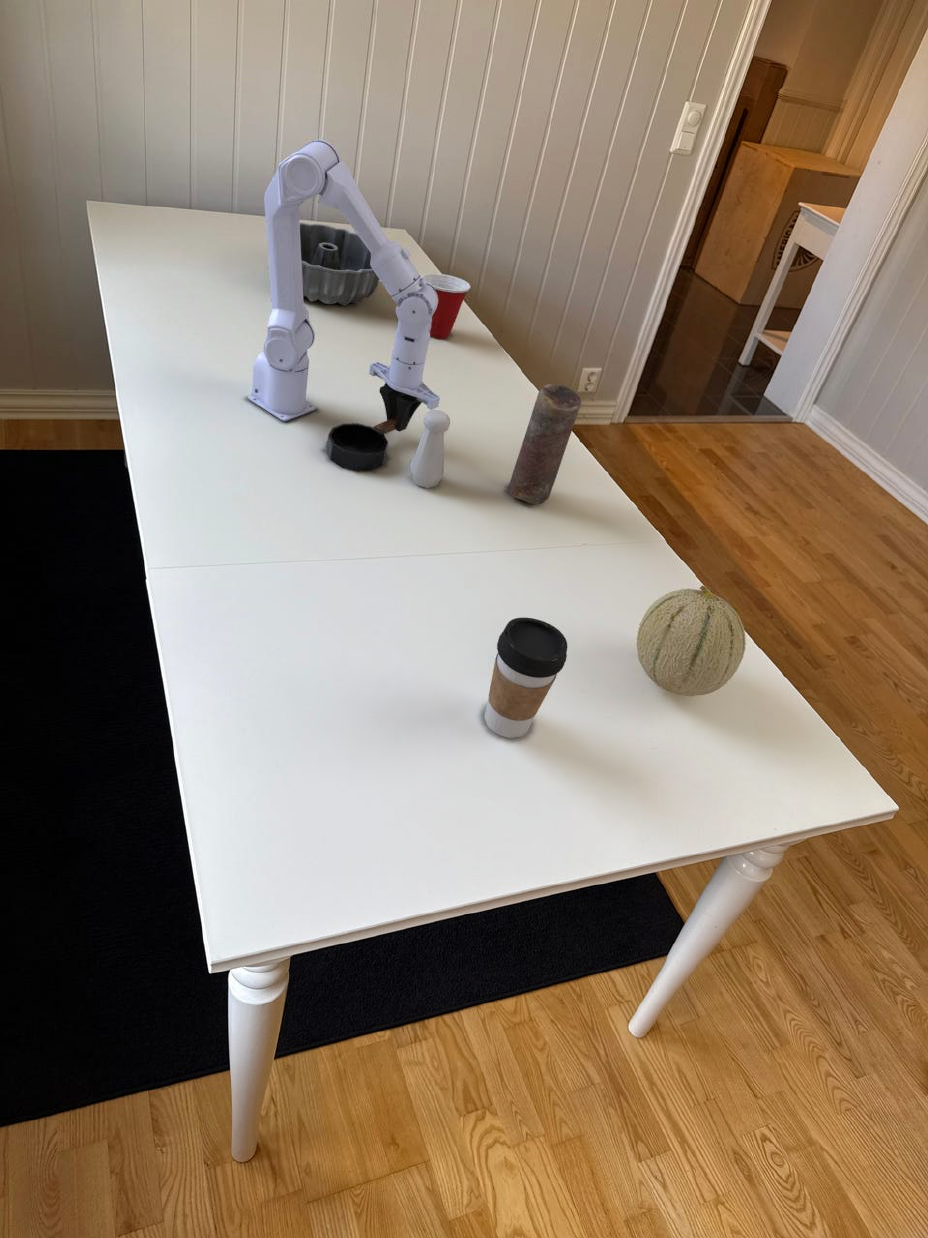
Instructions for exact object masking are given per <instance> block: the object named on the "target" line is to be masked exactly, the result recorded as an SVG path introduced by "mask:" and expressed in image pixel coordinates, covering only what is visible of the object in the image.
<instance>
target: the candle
mask: <svg viewBox="0 0 928 1238" xmlns="http://www.w3.org/2000/svg"><path fill="white" fill-rule="evenodd" d="M581 406H582V401H581V396H580V395H579V394H578V392H576V391H574V390H573V389H571V388H570V387H568V386H566V385H564V384H555V383H549V384H545V385H544V386H542V387H541V388H540V389H539V391H538V393H537V396H536V399H535V402H534V406H533V408H532V412H531V415H530V418H529V421H528V424H527V427H526V431H525V433H524V437H523V439H522V443H521V446H520V449H519V453H518V456H517V459H516V461H515V464H514V468H513V471H512V474H511V477H510V481H509V484H508V487H507V489H508V493H509V495H510V496H512V497H513V498H516V499H517V500H523V501H524V502H525V503H527V504H528V503H529V504H531V505H538V504H543V503H544V502H546V501H547V500H548V499H550V496H551V493H552V490H553V487H554V484H555V482H556V479H557V475H558V473H559V469H560V468H561V464H562V461H563V458H564V455H565V452H566V449H567V446H568V444H569V440H570V437H571V434H572V432H573V428H574V426H575V423H576V420H577V417H578V414H579V411H580V409H581Z"/></svg>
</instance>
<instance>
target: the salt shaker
mask: <svg viewBox="0 0 928 1238" xmlns="http://www.w3.org/2000/svg"><path fill="white" fill-rule="evenodd" d="M450 425H451V418H450V416H449V415H448V413H446V412H445V411H442V410H439V409H432V410H429V411H427V412H426V413H425V415H424V417H423V426H424V431H423V433H422V436H421V438H420V441H419V443H418V445H417V448H416V449H415V450H416V451H415V453H414V455H413V458H412V460H411V463H410V465H409V471H410V475H411V479H412V481H413V482H414V483H415V485H416V486H419V487H422V488H425V489H430V488H433V487H436V486H437V485H438V484H439V482H440V481H441V480H442V478H443V475H444V473H445V432H446V431H448V430H449V428H450Z"/></svg>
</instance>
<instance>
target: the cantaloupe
mask: <svg viewBox="0 0 928 1238" xmlns="http://www.w3.org/2000/svg"><path fill="white" fill-rule="evenodd" d="M746 641H747V640H746V631H745V627H744V623H743V622H742V619H741V617H740V615H739V614H738V612H736V610H735V608H734V607H733V606H732V605H731V604H730V603H729V602H727V601H726V600H725V599H723V598H721V596H718V595H716V594H715V593H712V591H711V590H710V588H709V587H708V586H707V585H701V586H700V587H699V589H695V588H681V589H677V590H673V591H669V592H667V593H666V594H663V595H662V596H661V597H659V598H658V599H656V600H655V601H654V602H653V603H652V604H651V605H650V606H649V607H648V608H647V610H646V611H645V613H644V615H643V616H642V619H641V622H640V623H639V627H638V630H637V635H636V651H637V658H638V660H639V663H640V665H641V668H642V669H643V671H644V672H645V674H646V675H647V677H649V679H651V681H652V682H654V684H656V685H657V686H658V687H660V688H661V689H663V690H666V691H668V692H671V693H675V694H677V695H681V696H686V697H696V696H697V697H698V696H706V695H709V694H712V693H714V692H717V691H719V690H720V689H721V688H723V687H724V686H725V685H726V684H728V682H729V681H730V680H731V679H732V678H733V676H734V675H735V673H736V672H737V671H738V670H739V667H740V665H741V664H742V661H743V659H744V655H745V651H746V645H747V643H746Z"/></svg>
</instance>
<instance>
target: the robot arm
mask: <svg viewBox="0 0 928 1238" xmlns="http://www.w3.org/2000/svg"><path fill="white" fill-rule="evenodd" d="M318 195H319V196H320V198H319V199H318V201H317V204H319V205H321V206H325V207H329V208H333V209H337V210H338V211H340V213H341V214H342V216H343V217H344V218H345V220H346V221H347V223H348V224H349V225H350V227H351V228H352V229H353V231H354V233H356V234H357V235H358V236H359V237H360V239H361V240H362V241H363V243H364V244H365V245H366V247H367V248H368V249H369V251H370V252H371V261H370V266H371V267H372V269H373V270H374V272H375V273H376V275H377V276H378V278H379V281H380V283H381V284H382V286H383V287H384V288H385V290H386V292H387V293H388V295H390V298H391V299H392V300H393V301H394V302H395V303H396V304H397V305H396V307H395V313H396V317H397V319H398V321H397V327H396V329H395V335H394V341H393V348H392V354H391V358H390V359H391V360H390V366H389V365H386V364H383V363H381V362H379V361H375V362H373V363H370V364H369V372H368V374H369V375H370V376H372V377H378V378H379V379H381V380H382V381H383V382H384V384H383V385H382V386H380V387H379V391H378V392H379V394H380V396H381V398H382V402H383V404H384V410H385V416H386V421H387V420H389V419H392V418H394V417H396V416H398V417H397V424H396V430H395V431H397V432H399V433H400V432H402V431H403V432H404V431H406V430H407V428H408V425H409V423H410V421H411V419H412V417H413V416H414V413H415V412H416V411H417V409H418V408H419V407H420V406H421V405H422V404H424V405H426V408H427V409H428V410H429V411H431V410H436V408H439V406H440V405H439V404H440V400H441V397H440V396H439V395H437V394H436V393H435V392H434V391H433V390H432V389H431V388H430V387H429V386H427V385H426V384H425V382H424V381H423V379H424V376H423V375H424V369H425V365H426V360H427V354H428V349H429V344H430V339H431V336H430V330H431V322H432V316H433V314H434V312H435V310H436V308H437V305H438V295H437V293H436V291H435V287H434V286H433V285H432V284H430V283H429V282H427V281H426V280H425V278H424V277H423V278H421V277H422V275H421V274H420V273H419V272H418V270H417V268H416V267H415V266H414V264H413V262H412V261H411V259H410V257H411V252H410V251H409V249H408V248H403V247H402V245H401V243H399V242H396V241H393V240H390V239H388V237H387V236H386V234H385V232H384V230H383V228H382V227H381V225H380V223H379V221H378V220H377V218H376V217H375V215H374V213H373V211H372V210H371V208H370V206H369V204H368V202H367V201H366V199H365V197H364V196H363V194H362V191H361V190H360V189H359V187H358V185H357V183H356V181H355V179H354V177H353V175H352V173H351V170H350V168H349V166H348V165H347V163H345V161H344V160H343V159H341V158H340V154H339V153H338V151H337V149H336V148H335V147H334V146H333V145H332V143H330V142H328V141H327V140H324V139H314V140H311V141H309V142H307V143H306V144H305V145H304V146H302V147H301V148H300V149H298V150H297V151H295V152H293V153H292V154H290V155H289V156H288V157H286V158H285V159H283V160H282V161H280V163H279V164H278V165H277V169H276V172H275V173H274V175H273V177H272V179H271V181H270V183H269V185H268V187H267V189H266V190H265V193H264V197H263V198H264V200H263V201H264V202H263V203H264V215H265V229H266V239H267V240H266V241H267V243H266V244H267V256H268V270H269V282H270V283H269V284H270V296H271V298H270V299H271V308H272V309H271V312H270V316H269V318H268V322H267V326H266V328H267V334H266V335H267V336H266V338H265V341H264V343H263V350H262V351H261V352H260V353H259V354H258V355H257V356H256V358H255V359H254V363H253V366H252V382H251V383H252V384H251V385H252V386H251V394H250V395H248V397H247V399H248V400H249V401H251V402H252V403H253V404H255V405H257V406H258V407H260V408H262V410H264V411H266V412H268V413H270V414H271V415H273V416H274V417H276V418H277V419H279V420H281V421H283V422H288V421H290V420H293V419H295V418H297V417H301V416H303V415H305V414H308V413H310V412H313V411H316V407H315V406H314V405H312V404H311V403H309V402H308V401H306V400H307V390H308V379H309V368H310V367H309V366H310V358H309V356H308V355H309V354H308V349H310V348H312V346H313V345H314V343H315V338H316V333H315V329H314V327H313V325H312V323H311V320H310V315H309V310H308V309H307V308H306V306H305V304H304V303H305V302H304V296H303V283H302V263H301V243H300V223H301V222H300V206H301V205H302V204H304V202H305V201H307V200H310V199H313V198H315V197H317V196H318Z"/></svg>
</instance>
